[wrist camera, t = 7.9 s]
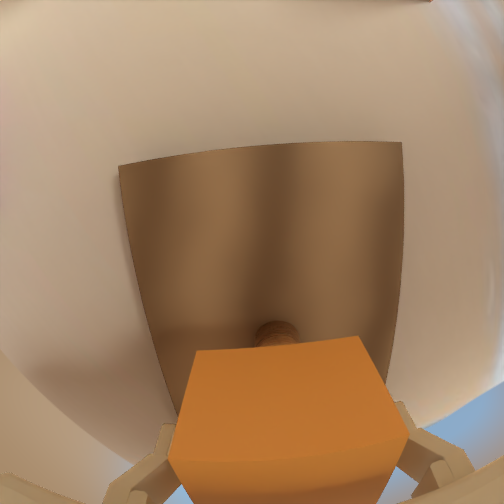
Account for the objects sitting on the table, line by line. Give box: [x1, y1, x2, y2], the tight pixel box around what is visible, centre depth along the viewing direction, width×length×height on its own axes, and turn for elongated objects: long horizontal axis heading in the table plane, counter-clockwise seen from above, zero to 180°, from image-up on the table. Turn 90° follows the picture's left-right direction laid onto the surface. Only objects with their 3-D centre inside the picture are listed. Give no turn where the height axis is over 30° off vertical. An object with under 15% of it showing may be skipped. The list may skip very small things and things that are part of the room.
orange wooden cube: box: [168, 336, 410, 504], centre depth 9 cm, size 6×6×5 cm
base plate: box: [118, 141, 404, 417], centre depth 17 cm, size 14×20×2 cm
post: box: [255, 321, 300, 347], centre depth 14 cm, size 2×2×4 cm
